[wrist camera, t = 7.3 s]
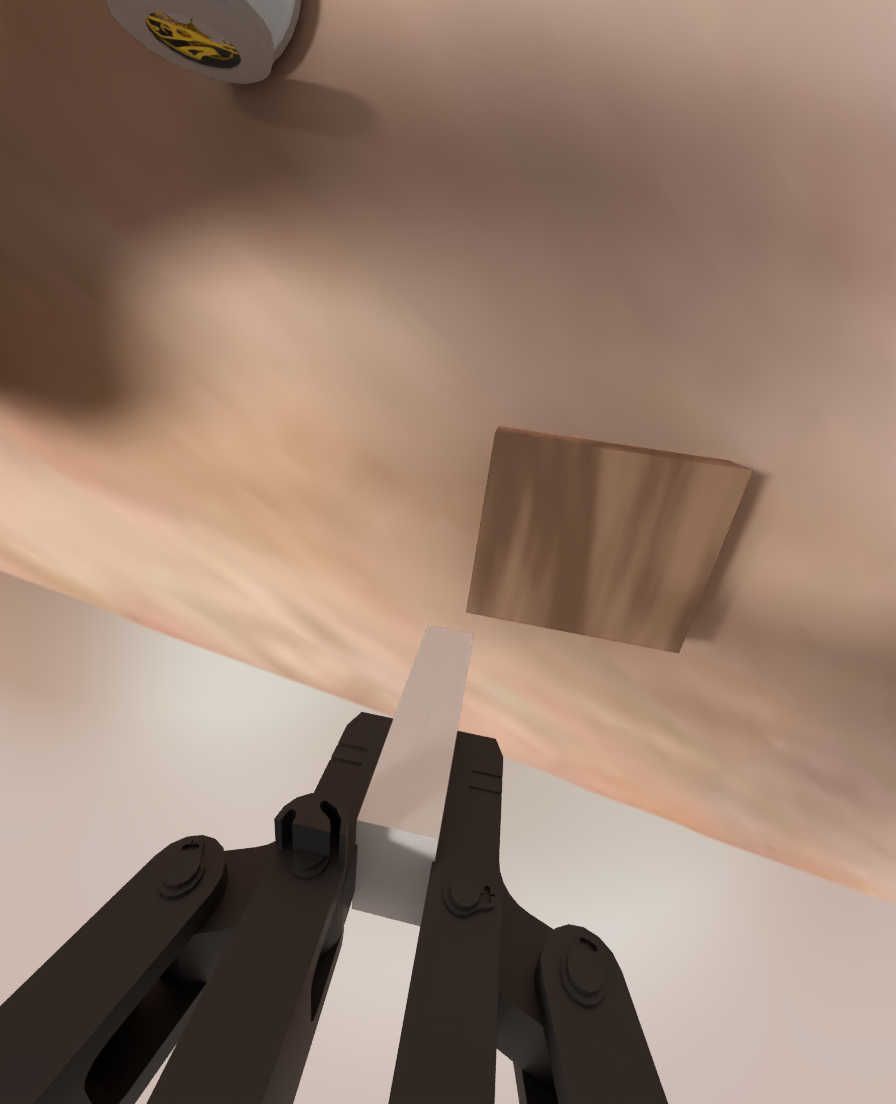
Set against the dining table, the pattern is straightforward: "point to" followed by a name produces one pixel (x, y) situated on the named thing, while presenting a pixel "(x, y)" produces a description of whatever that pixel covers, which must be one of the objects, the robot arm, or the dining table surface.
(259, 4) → the pocket watch
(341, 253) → the dining table surface
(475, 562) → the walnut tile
